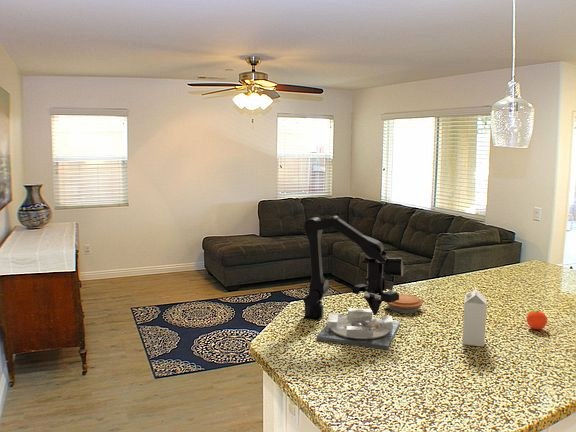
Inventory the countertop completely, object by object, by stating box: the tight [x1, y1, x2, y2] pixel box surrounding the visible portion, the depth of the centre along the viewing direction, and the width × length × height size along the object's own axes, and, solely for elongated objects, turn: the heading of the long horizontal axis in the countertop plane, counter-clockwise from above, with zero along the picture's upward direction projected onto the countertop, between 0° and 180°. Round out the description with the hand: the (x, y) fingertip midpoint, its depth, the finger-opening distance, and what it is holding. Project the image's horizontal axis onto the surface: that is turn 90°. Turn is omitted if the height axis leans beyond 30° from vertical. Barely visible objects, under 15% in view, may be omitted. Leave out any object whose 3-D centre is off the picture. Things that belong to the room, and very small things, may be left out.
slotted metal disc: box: [326, 307, 393, 340], centre depth 191 cm, size 23×23×4 cm
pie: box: [385, 293, 424, 314], centre depth 218 cm, size 16×16×5 cm
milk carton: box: [461, 288, 488, 348], centre depth 181 cm, size 7×7×19 cm
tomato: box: [524, 309, 548, 330], centre depth 195 cm, size 8×7×7 cm
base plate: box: [316, 313, 401, 351], centre depth 191 cm, size 25×25×2 cm
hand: (375, 314), depth 199 cm, fingers closed
